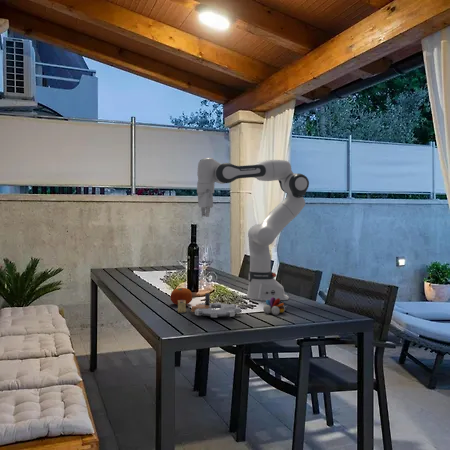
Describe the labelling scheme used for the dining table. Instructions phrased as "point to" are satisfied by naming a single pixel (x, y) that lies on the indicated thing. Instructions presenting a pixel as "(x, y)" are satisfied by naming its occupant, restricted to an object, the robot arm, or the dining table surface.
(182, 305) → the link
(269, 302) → the multicoloured rounded cluster
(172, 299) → the fruit
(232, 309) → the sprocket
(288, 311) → the dining table surface
